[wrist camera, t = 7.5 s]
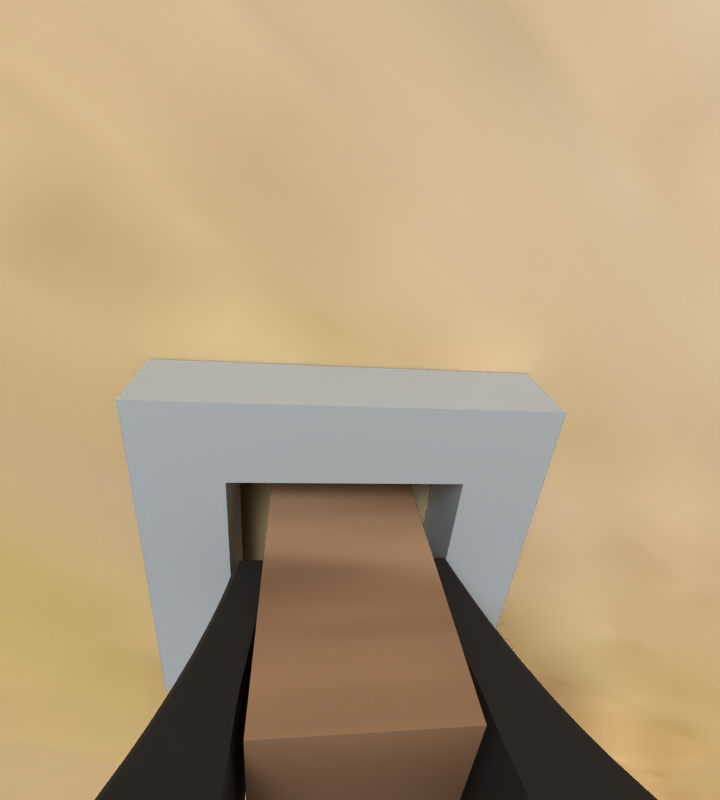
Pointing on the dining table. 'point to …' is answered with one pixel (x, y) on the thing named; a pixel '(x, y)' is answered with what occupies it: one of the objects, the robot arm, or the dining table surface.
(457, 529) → the bore block
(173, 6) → the dining table surface
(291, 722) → the block
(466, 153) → the dining table surface
